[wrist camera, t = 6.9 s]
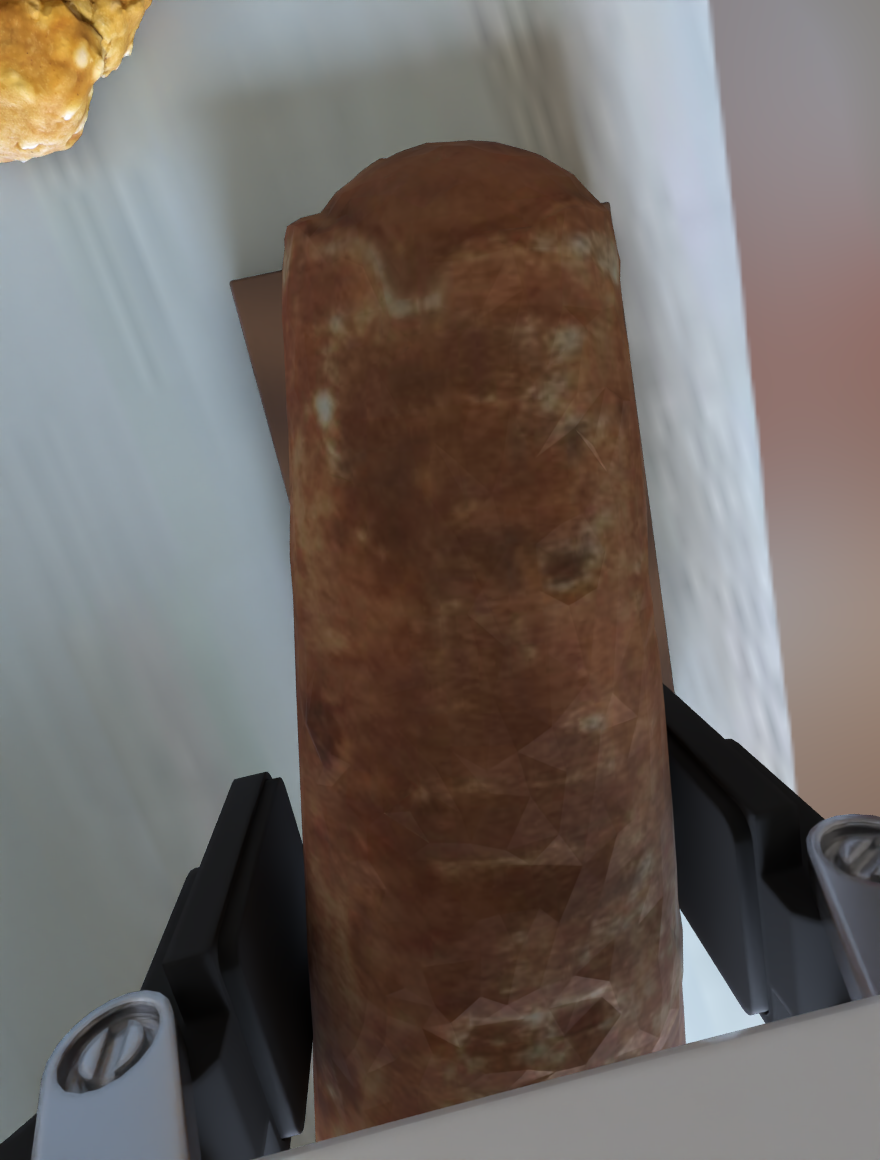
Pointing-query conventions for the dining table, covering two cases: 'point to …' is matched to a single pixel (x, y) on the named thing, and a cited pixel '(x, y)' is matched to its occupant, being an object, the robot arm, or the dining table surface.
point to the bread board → (266, 351)
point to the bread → (472, 641)
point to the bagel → (57, 67)
